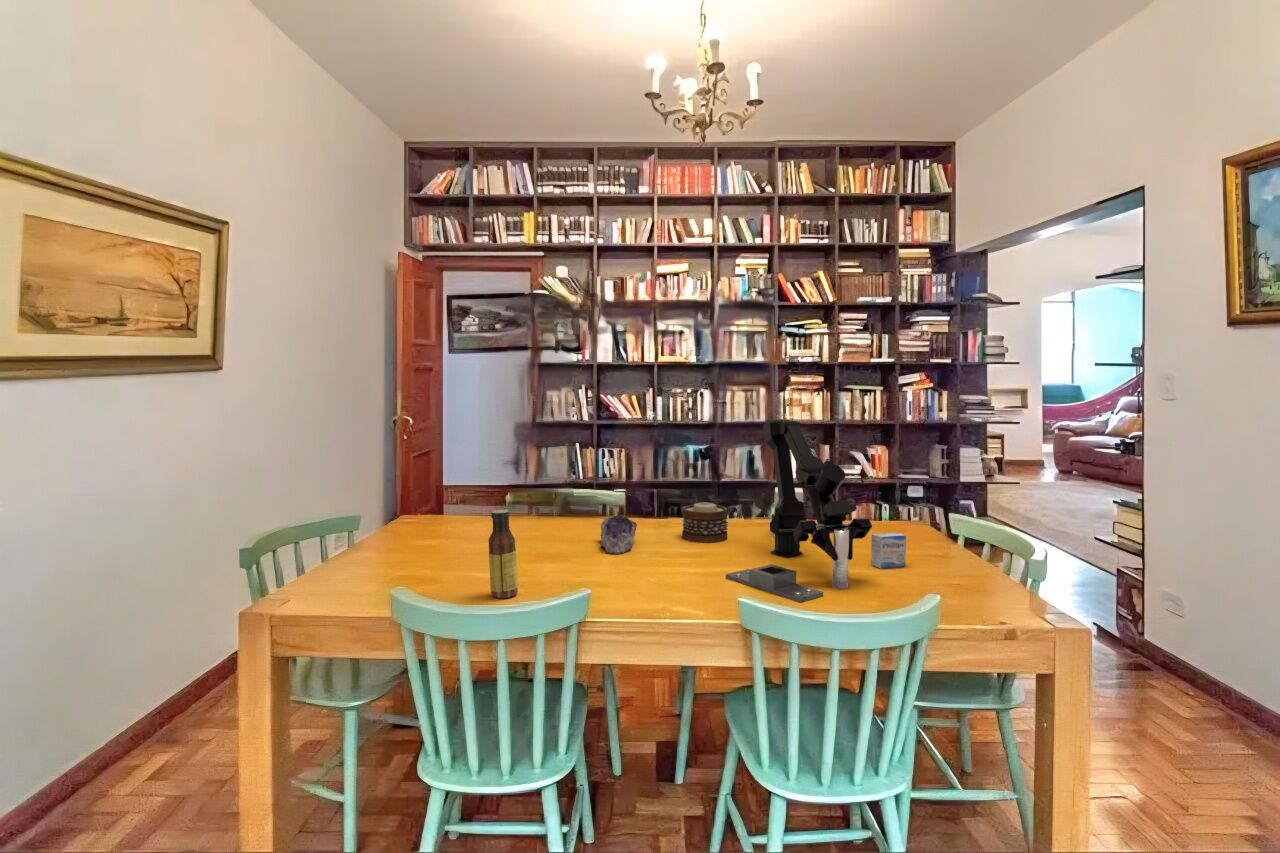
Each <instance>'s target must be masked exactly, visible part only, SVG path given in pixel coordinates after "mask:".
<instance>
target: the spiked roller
mask: <svg viewBox="0 0 1280 853" xmlns="http://www.w3.org/2000/svg"><path fill="white" fill-rule="evenodd" d="M681 512H682V513H681V514H682V515H681V518H682V519H683V520H681V521H682V524H681V525H682V531H681V538H682V539H683V540H684V541H687V542H690V543H696V544H717V543H722V542H726V541H727V540H728V530H729V528H728V527H729V526H728V525H729V524H728V523H730V522H728V521H727V520H728V519H729V517H728V513H729V512H728V507H726V506H723V505H718V504H715V503H712V502H707V501H706V502H703V501H702V502H698V503H694V504H689V505H685V506H683V507H682V511H681Z"/></svg>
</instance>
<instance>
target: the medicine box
mask: <svg viewBox="0 0 1280 853" xmlns="http://www.w3.org/2000/svg"><path fill="white" fill-rule="evenodd" d="M870 547H871V548H870V549H871V553H870V564H871V566H873V567H875V568H877V567H878V568H877V569H880V570H886V569H885V568H887V569H897V568H905V567H906V558H907V557H906V556H907V536H906V534H903V533H900V532H888V533H887V532H885V533H871V546H870Z"/></svg>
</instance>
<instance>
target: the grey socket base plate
mask: <svg viewBox="0 0 1280 853" xmlns="http://www.w3.org/2000/svg"><path fill="white" fill-rule="evenodd" d="M725 579H726V580H730V581H733V582H737V583H739V584H742V585H744V586H749V587H751V588H755V589H758V590H759V591H760V590H761V591H764V592H766V591H767V592H766V593H769V594H773V595H776V596H779V597H783V598H785V599H788V600H791V601H794V602H798V603H804V602H808V601H810V600H814V599H818V598H821V597H824V591H821V590H819V589H815V588H812V587H808V586H806V585H802V584H800V583H797V570H794V569H793V570H792V569H789V568H786V567H783V566H778V565H775V564H766V565H762V566H759V567H754V568H750V569H749V568H746V569H743V570H738V571H734V572H730V573H729V572H728V573H725Z"/></svg>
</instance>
